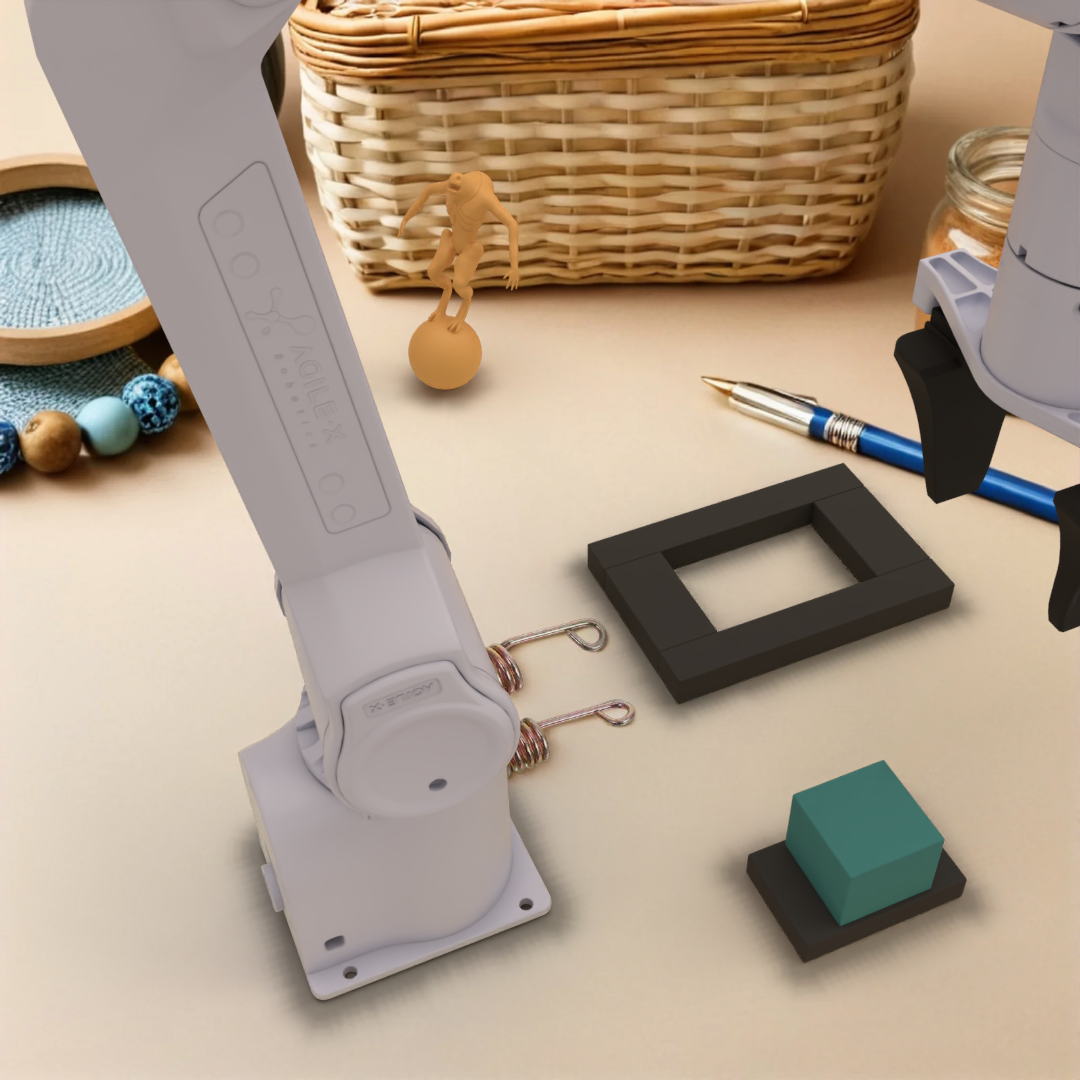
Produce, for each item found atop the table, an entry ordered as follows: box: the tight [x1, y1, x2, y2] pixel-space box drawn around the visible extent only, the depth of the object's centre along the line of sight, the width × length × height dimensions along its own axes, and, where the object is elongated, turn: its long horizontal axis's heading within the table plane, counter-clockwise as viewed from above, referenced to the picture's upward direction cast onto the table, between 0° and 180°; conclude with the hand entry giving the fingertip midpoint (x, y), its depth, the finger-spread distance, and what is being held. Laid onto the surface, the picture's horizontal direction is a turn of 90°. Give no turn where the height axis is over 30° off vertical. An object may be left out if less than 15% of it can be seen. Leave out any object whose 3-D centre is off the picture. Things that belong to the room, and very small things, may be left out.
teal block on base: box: [745, 759, 968, 964], centre depth 54 cm, size 7×4×4 cm, turn 113°
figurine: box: [397, 170, 520, 391], centre depth 76 cm, size 8×6×12 cm
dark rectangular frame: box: [587, 462, 956, 704], centre depth 67 cm, size 14×9×2 cm
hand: (1011, 552), depth 56 cm, fingers open, 7 cm apart
